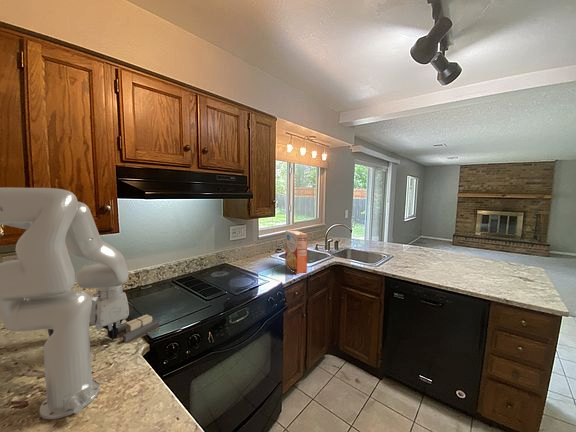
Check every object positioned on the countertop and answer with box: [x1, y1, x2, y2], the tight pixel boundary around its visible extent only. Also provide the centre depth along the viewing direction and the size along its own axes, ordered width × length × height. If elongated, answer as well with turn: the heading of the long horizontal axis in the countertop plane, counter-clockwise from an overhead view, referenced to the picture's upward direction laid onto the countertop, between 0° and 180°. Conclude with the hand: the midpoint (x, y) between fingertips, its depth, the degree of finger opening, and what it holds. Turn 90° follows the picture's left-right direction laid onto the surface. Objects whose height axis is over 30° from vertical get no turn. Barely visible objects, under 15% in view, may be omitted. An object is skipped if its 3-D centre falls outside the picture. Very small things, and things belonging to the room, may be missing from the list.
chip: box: [125, 318, 141, 333], centre depth 101 cm, size 4×4×4 cm
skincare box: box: [89, 296, 98, 326], centre depth 109 cm, size 6×4×12 cm
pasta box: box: [284, 229, 308, 275], centre depth 190 cm, size 23×8×30 cm, turn 22°
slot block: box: [117, 314, 161, 345], centre depth 102 cm, size 13×13×4 cm
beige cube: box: [137, 314, 153, 327], centre depth 105 cm, size 4×4×4 cm
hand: (113, 337), depth 95 cm, fingers closed
